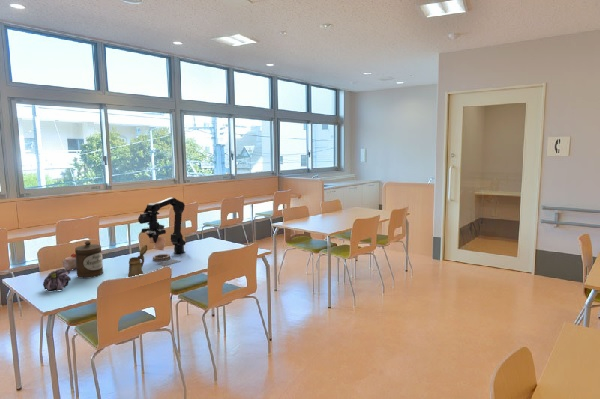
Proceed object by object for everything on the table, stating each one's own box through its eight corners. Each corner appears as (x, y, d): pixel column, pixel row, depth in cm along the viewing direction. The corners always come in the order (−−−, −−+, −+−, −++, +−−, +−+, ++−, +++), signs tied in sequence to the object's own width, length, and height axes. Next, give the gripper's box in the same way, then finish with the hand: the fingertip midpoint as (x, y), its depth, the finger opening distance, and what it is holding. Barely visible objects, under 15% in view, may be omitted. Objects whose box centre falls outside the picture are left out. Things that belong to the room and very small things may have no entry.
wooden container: (89, 279, 248) (86, 244, 245) (71, 276, 253) (68, 242, 250) (108, 272, 262) (105, 239, 259) (91, 270, 267) (88, 237, 264)
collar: (163, 255, 300) (163, 253, 300) (173, 258, 293) (173, 255, 293) (149, 259, 291) (149, 256, 290) (159, 262, 284) (159, 259, 283)
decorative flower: (33, 276, 225) (56, 261, 237) (36, 291, 230) (59, 276, 243) (53, 285, 221) (75, 270, 234) (56, 300, 227) (78, 285, 239)
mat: (172, 259, 290) (172, 259, 290) (180, 261, 284) (180, 261, 284) (157, 263, 279) (157, 263, 279) (165, 266, 274) (165, 265, 274)
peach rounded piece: (158, 249, 294) (161, 237, 295) (165, 250, 291) (167, 238, 292) (146, 248, 284) (148, 235, 285) (152, 249, 281) (155, 236, 282)
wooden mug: (152, 272, 259) (150, 245, 257) (132, 278, 249) (131, 250, 246) (144, 270, 265) (143, 243, 262) (125, 275, 254) (123, 248, 252)
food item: (67, 271, 264) (66, 257, 263) (62, 269, 269) (61, 255, 268) (88, 266, 275) (87, 252, 273) (83, 264, 280) (82, 250, 278)
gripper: (171, 220, 286) (172, 241, 288) (152, 218, 295) (154, 239, 297) (159, 223, 277) (160, 245, 279) (140, 221, 286) (141, 242, 288)
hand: (154, 242), depth 286 cm, fingers closed on peach rounded piece
